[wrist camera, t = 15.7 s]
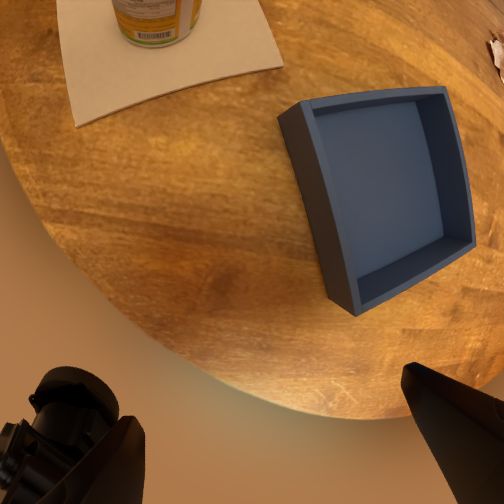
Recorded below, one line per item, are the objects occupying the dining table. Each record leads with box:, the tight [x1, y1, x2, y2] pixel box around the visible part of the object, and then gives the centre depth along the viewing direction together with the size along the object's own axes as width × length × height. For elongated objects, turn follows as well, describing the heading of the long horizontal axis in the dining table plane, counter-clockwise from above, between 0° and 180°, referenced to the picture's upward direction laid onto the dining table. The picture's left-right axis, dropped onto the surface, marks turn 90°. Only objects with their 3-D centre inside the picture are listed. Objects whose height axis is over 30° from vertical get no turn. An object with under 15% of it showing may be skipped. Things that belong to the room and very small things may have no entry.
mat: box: [56, 0, 284, 128], centre depth 15 cm, size 14×12×1 cm
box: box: [278, 86, 476, 317], centre depth 20 cm, size 13×13×4 cm
